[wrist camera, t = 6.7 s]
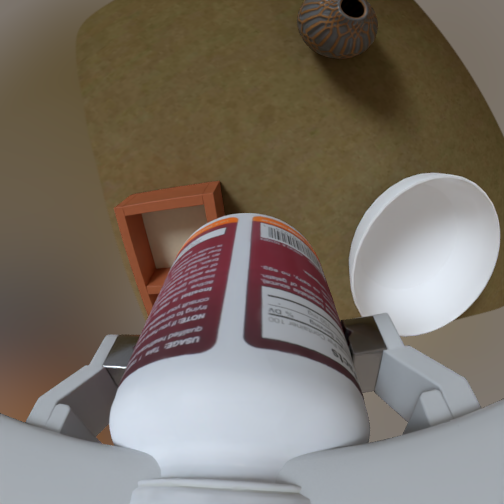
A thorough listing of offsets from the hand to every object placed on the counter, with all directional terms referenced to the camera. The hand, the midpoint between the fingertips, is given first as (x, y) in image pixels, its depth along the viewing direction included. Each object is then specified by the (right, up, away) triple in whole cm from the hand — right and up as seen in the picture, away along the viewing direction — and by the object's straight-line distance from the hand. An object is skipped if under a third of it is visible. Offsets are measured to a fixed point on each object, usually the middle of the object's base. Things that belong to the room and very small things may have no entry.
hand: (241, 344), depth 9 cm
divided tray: (-7, +1, +26) cm, 27 cm away
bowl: (+19, +5, +23) cm, 30 cm away
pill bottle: (0, +2, +4) cm, 4 cm away
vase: (+8, +24, +14) cm, 29 cm away
